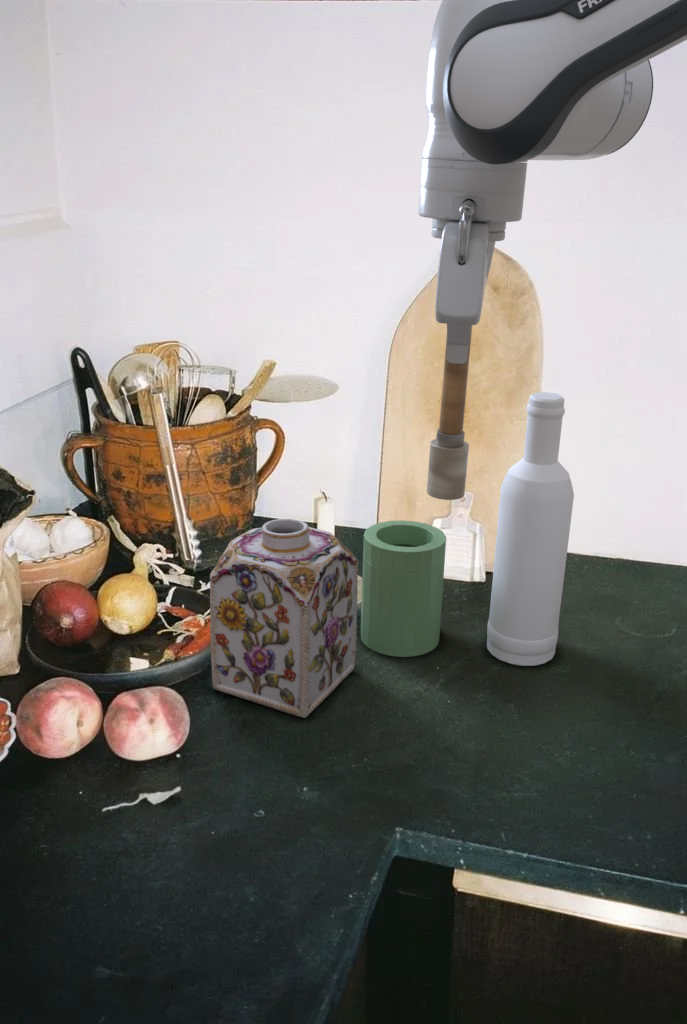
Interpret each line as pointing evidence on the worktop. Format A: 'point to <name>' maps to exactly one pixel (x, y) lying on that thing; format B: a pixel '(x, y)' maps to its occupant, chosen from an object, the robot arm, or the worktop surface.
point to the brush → (450, 436)
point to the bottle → (531, 542)
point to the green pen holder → (402, 587)
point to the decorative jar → (283, 616)
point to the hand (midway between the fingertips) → (457, 357)
